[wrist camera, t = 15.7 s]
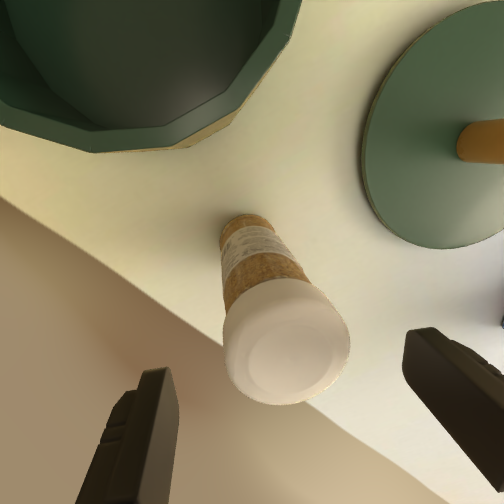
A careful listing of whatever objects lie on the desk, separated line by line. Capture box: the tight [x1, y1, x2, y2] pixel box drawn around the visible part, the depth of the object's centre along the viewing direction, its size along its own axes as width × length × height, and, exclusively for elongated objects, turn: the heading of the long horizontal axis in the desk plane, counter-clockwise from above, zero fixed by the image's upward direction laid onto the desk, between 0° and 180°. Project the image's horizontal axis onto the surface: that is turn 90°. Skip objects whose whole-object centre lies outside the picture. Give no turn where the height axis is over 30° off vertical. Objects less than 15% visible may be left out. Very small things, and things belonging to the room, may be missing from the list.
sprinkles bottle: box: [220, 215, 350, 405], centre depth 16 cm, size 5×5×14 cm
